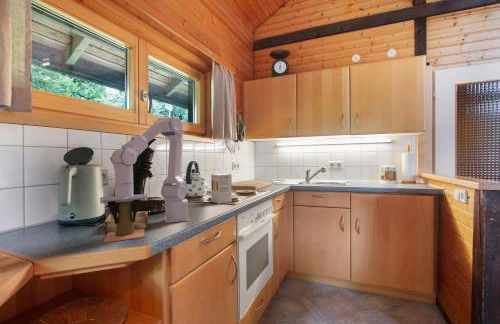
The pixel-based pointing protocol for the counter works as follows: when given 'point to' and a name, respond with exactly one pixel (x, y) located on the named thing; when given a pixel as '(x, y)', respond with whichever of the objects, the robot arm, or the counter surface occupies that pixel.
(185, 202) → the robot arm
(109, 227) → the birch box
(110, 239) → the terracotta tile
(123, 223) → the cork
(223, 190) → the supplement box
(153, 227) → the counter surface
